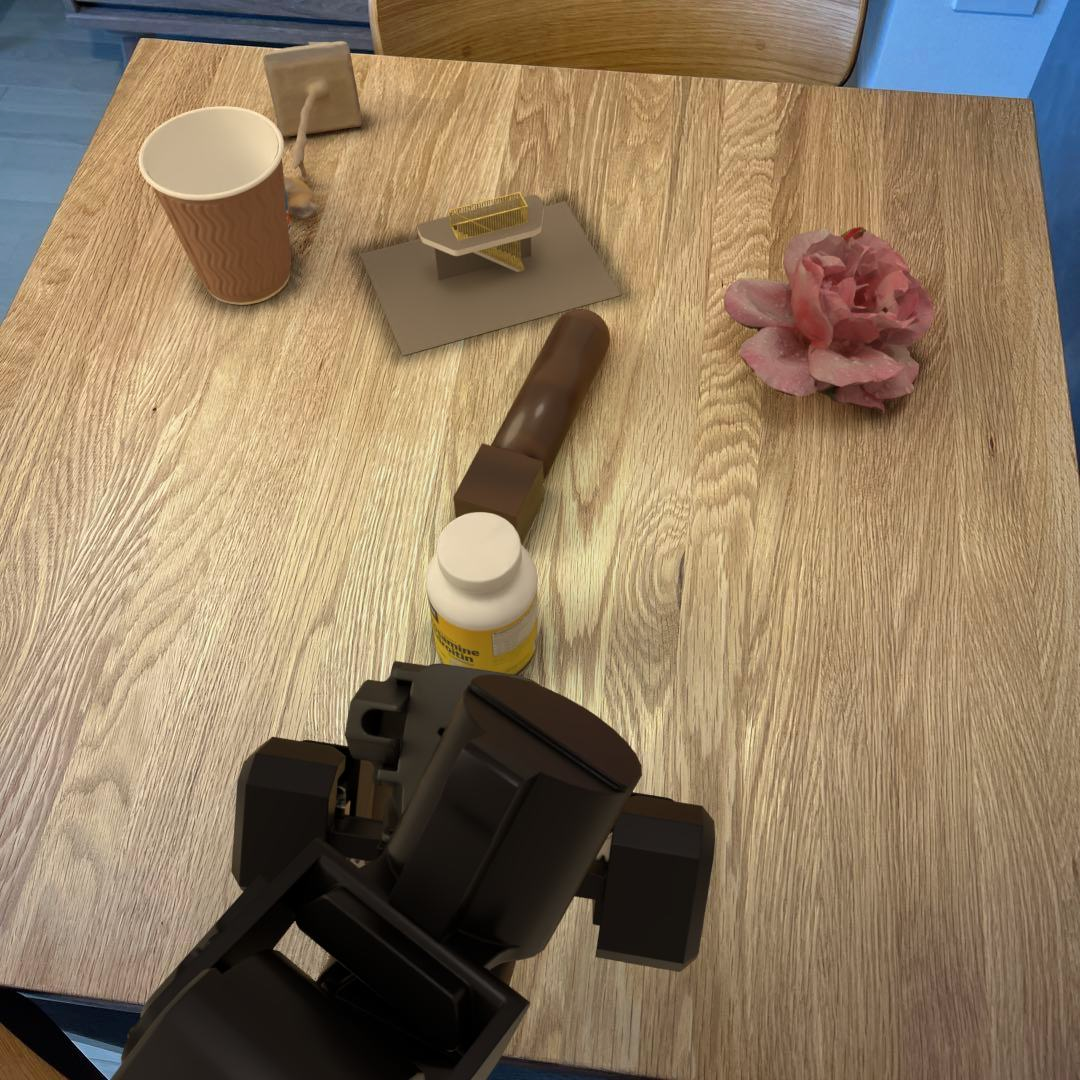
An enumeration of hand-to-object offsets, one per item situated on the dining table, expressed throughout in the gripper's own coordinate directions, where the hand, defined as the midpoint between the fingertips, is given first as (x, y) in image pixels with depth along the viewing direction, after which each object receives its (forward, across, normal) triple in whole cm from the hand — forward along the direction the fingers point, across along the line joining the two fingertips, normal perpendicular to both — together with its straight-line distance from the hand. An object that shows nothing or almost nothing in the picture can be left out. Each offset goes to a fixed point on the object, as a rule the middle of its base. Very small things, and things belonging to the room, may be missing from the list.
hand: (503, 771), depth 53 cm
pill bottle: (+19, +4, 0) cm, 20 cm away
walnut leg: (+32, +4, -12) cm, 34 cm away
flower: (+39, -16, -19) cm, 46 cm away
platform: (+43, +11, -23) cm, 50 cm away
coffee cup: (+40, +30, -21) cm, 54 cm away
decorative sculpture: (+50, +30, -30) cm, 66 cm away
